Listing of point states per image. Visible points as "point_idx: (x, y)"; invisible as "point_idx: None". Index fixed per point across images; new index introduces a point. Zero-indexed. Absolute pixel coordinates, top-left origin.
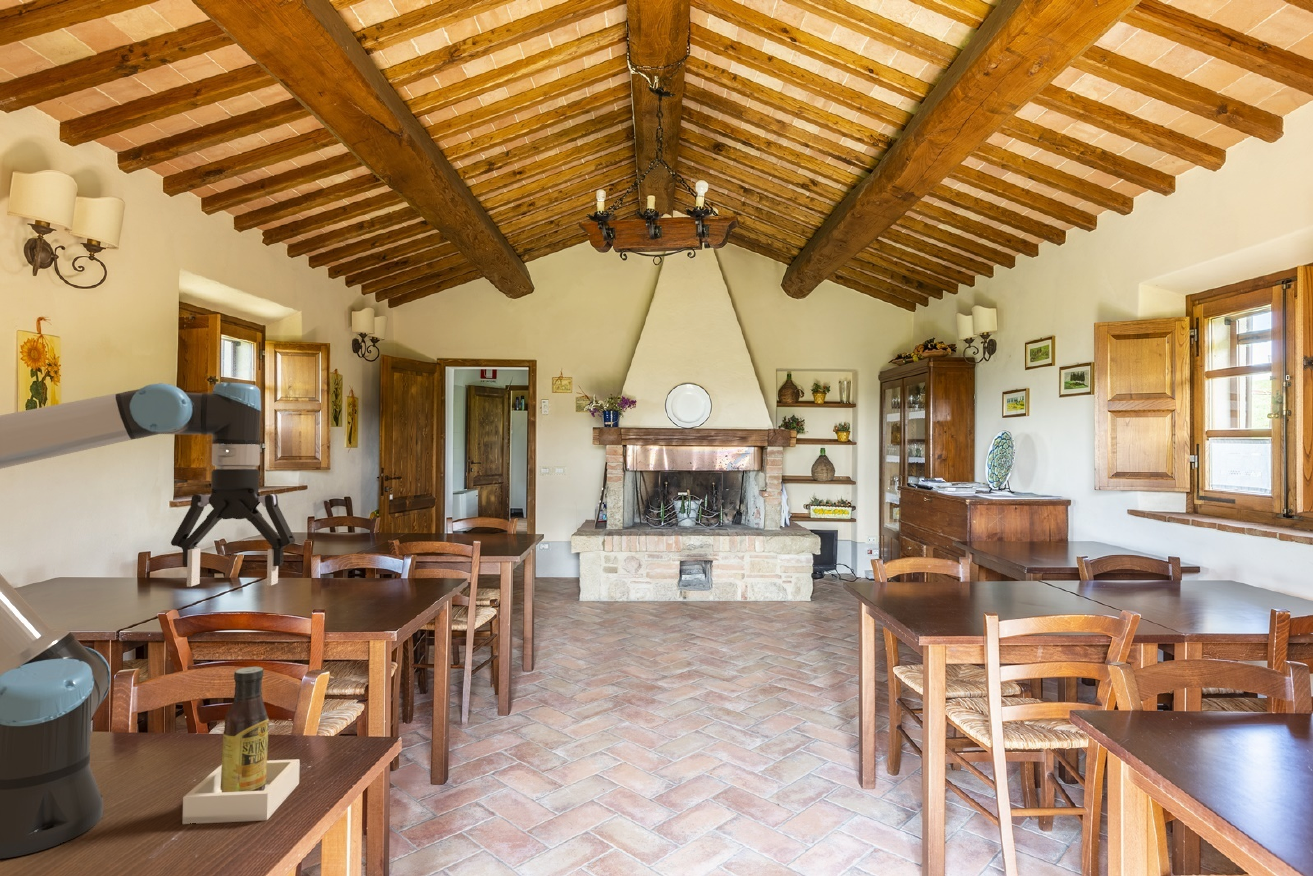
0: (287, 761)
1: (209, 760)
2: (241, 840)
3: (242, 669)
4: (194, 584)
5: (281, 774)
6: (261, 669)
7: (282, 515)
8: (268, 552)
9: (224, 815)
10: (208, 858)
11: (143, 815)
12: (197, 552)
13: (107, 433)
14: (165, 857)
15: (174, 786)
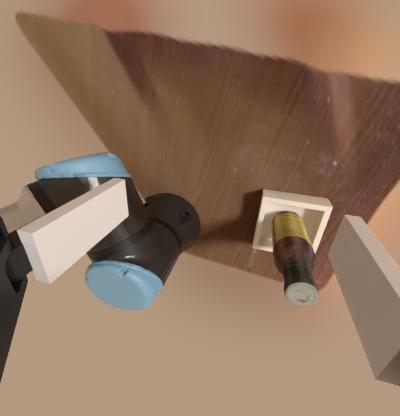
0: (321, 209)
1: (232, 128)
2: None
3: (292, 291)
4: (126, 204)
5: (319, 232)
6: (317, 297)
7: None
8: (373, 362)
9: None
10: (282, 277)
11: (222, 218)
12: (52, 244)
13: None
14: (257, 269)
15: (224, 178)
